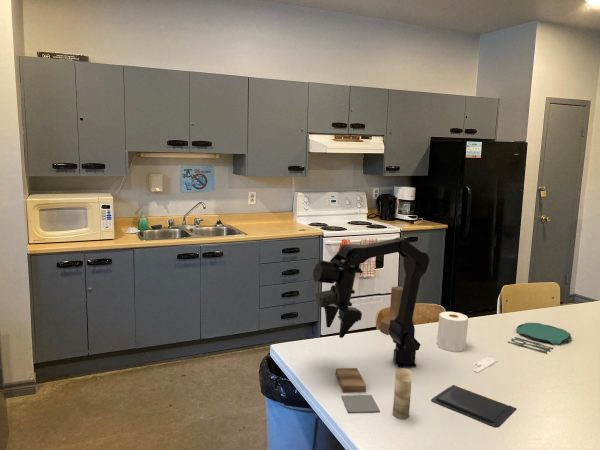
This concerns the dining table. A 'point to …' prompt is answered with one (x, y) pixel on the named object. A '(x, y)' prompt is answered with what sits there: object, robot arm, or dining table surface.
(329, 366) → the dining table surface
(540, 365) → the dining table surface
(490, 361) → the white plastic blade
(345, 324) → the robot arm
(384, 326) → the wooden scoop
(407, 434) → the dining table surface
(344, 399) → the support pad
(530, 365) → the dining table surface
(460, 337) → the toilet paper
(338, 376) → the walnut slab
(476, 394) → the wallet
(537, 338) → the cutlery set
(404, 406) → the birch roller
